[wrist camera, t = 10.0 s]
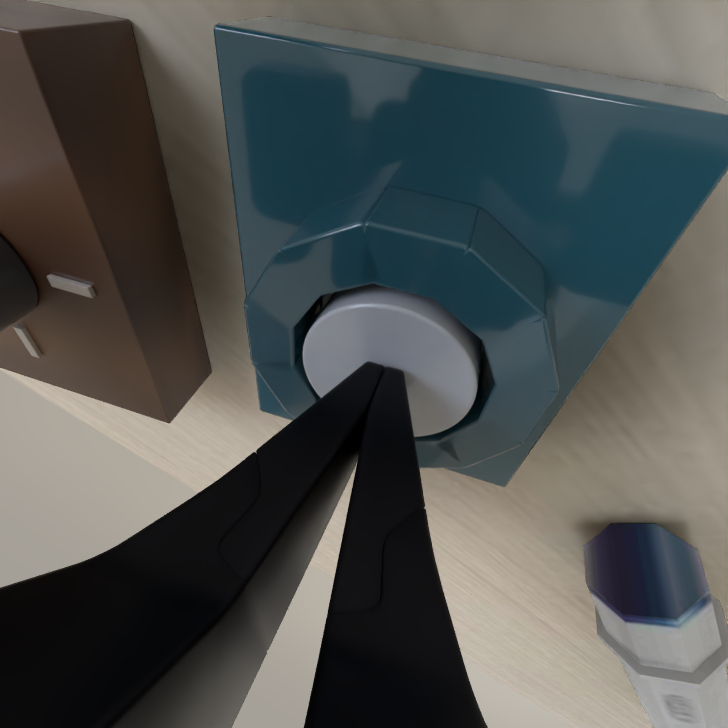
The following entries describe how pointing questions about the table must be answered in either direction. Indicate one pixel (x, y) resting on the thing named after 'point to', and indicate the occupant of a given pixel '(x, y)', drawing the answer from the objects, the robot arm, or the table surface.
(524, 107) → the teal button mount
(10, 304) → the supply dial
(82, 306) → the dial panel
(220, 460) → the table surface
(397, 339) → the flush button
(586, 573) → the white ridged-cap long part
